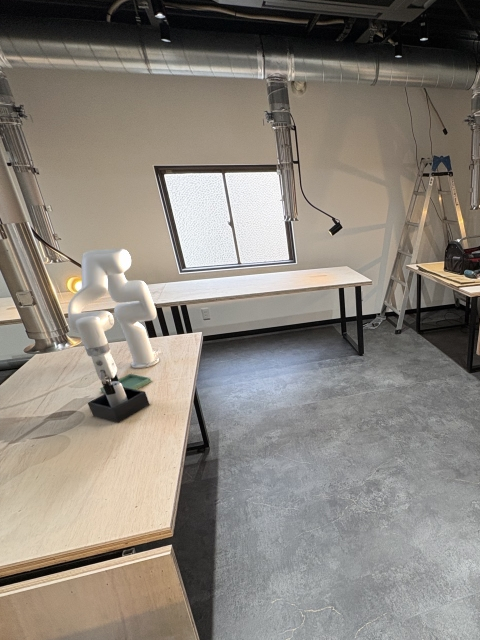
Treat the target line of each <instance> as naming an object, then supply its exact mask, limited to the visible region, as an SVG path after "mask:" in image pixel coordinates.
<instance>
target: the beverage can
mask: <svg viewBox="0 0 480 640" xmlns="http://www.w3.org/2000/svg"><path fill="white" fill-rule="evenodd" d="M111 384H113V386H114V389H115V391H116V393H115V394H111V395H106V396H107V399H108V401H109V404H110V406H111V407H112V408H114V407H116V406H118V405H120V404H122V403H123V402H125V401H127V400H128V399H127V397H126V394H125V391H124V389H123V386H122V384H121V383H120V382H119V381H113V382H111ZM104 391H105V390H104ZM104 394H106V393H104Z"/></svg>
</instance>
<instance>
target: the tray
mask: <svg viewBox="0 0 480 640" xmlns="http://www.w3.org/2000/svg"><path fill="white" fill-rule="evenodd" d="M118 380H119V382H120V383H121V384H122V386H123V387H125V388H130V389H135V390H138V389H140V388H142V387H144V386H146V385H148V384H150V383H151V382H152V379H151V377H147V376H144V375H143V376H142V375H137V374H134V373H129V374H127V375H125V376H122V377H120V378H118ZM99 389H100V392H101V393H104V394H105V391H104V388H103V386H102V387H100V388H99Z"/></svg>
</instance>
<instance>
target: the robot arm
mask: <svg viewBox="0 0 480 640" xmlns="http://www.w3.org/2000/svg"><path fill="white" fill-rule="evenodd" d="M81 257H82V259H81V266H80V267H81V268H80V269H81V288H80V289H79V290H78V291H77V292H76V293H75V294H74V295H73V296H72V298H71V299H70V301H69V302H68V307H67V319H68V325H69V328H70V329H71V331H73V332H75V333H78V334H79V337H80V339H81V342H82V344H83V347H84V349H85V351H86V354H87V356H88V357H91V361H92V364H93V367H94V369H95V372H96V374H97V377H98V379H99V380H100V381H101V385H102V387H103V388H104V390H105V393H106V395H111V394H115V393H116V391H115V389H114V386H113V384H111V382H113V381H119V380H118V379H119V377H118V375H117V372H118V367H117V365H116V362H115V360H114V358H113V356H112V353H111V351H112V350H111V347H110V345H109V342H108V339H107V337H106V334H105V332H106V331H109V330H111V328H113V327H114V324H115V318H116V320H117V323H118V324H119V326H120V328H121V330H122V334H123V335H124V338H125V341H126V344H127V347H128V349H129V352H130V356H131V359H132V362H131V363H130V366H131V367H132V368H133V369H144V368H149V367H152V366H154V365H156V364H158V362H160V360H159V357H157V356H159V355H161V354H162V353H163V352H162V350H161V349H158V350H153V348H152V345H151V342H150V339H149V336H148V333H147V330H146V328H145V327H144V326H143V324H141V323H142V322H150V321H154V320H155V319H156V318H157V315H158V313H157V308H156V306H155V303H154V301H153V297H152V295H151V292H150V290H149V288H148V285H147V284H146V283H145V282H144V281H143V280H139V279H134V280H127V279H126V277H125V274H124V273H125V272H127V271H128V270H129V269H130V268H131V265H132V259H131V255H130V254H129V252H128V251H127V249H125V248H110V249H92V250H87V251H85V252H83V254H82V256H81ZM107 294H109V296H110V298H111V299H112V301H114V302H115V303H119V304H117V305H115V307H114V308H113V314H114V315H113V314H112V313H111V312H109V311H107V310H94V311H93V310H92V311H83V310H84V309H85V308H86V307H87V306H88V305H89V304H91V303H93V302H95V301H97V300H99V299H101V298H102V297H104V296H106V295H107ZM82 311H83V312H82ZM114 317H115V318H114ZM105 393H104V394H105Z"/></svg>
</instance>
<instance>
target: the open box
mask: <svg viewBox="0 0 480 640" xmlns="http://www.w3.org/2000/svg"><path fill="white" fill-rule="evenodd" d="M123 389H124V391H125V394H126V397H127V399H128V400H127V401H125V402H123V403H122V404H120V405H118V406H116V407H114V408H112V407H111V406H110V404H109V401H108V399H107V396H106V394H105V393H104V394H102V395H101V396H98V397H96V398H94V399H93V400H90V401H88V402H87V405H88V407H89V410H90V412H91V415H92V417H94V418H97V419H101V420H106V421H109V422H114V423H117V424H119V423H121V422H123V421H125V420H127V419H128V418H130V417H132V416H133V415H135V414H137V413H139V412H141V411H142V410H144V409H145V408H147V407H149V406H150V405H151V404H150V401H149V399H148V396H147V393H146V391H143V390H138V389H136V390H135V389H130V388H125V387H123Z"/></svg>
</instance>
